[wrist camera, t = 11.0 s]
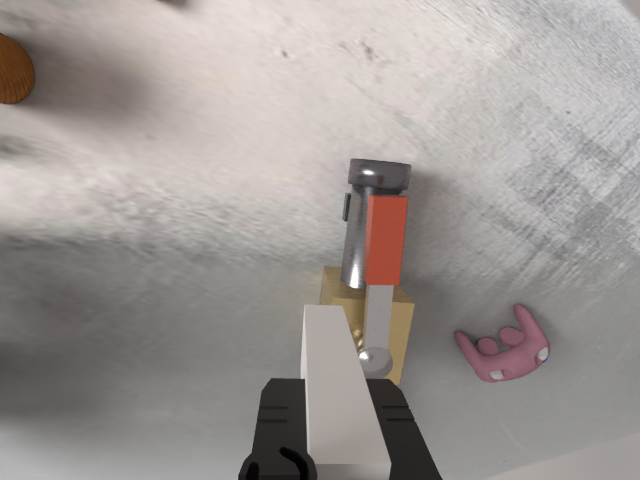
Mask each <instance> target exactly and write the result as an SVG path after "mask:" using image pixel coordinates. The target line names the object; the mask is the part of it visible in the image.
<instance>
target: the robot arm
mask: <svg viewBox="0 0 640 480" xmlns="http://www.w3.org/2000/svg"><path fill="white" fill-rule="evenodd" d="M238 480H443V479H442V478H441V476H440V474H439V472H438V470H437V468H436V466H435V463H434V461H433V459H432V457H431V455H430V452H429V450H428V448H427V446H426V444H425V441H424V439H423V437H422V435H421V432H420V430H419V428H418V426H417V424H416V422H415V421H414V417H413V415H412V413H411V410H410V409H409V406H408V404H407V402H406V399H405V397H404V395H403V393H402V391H401V390H400V389H399V388H398V387H397V386H396V385H395V384H394V383H393V382H392V381H391V380H390V379H365V377H364V373H363V370H362V367H361V364H360V360H359V357H358V354H357V351H356V348H355V344H354V341H353V338H352V335H351V331H350V328H349V325H348V322H347V318H346V315H345V312H344V309H343V306H334V305H305V304H304V320H303V336H302V352H301V379H283V378H271V379H270V381H269V382H268V383H267V385H266V386H265V387H264V389H263V390H262V393H261V399H260V405H259V411H258V418H257V424H256V430H255V436H254V442H253V448H252V453H251V454H250V455H249V456H248V457H247V458H246V460H245V461H244V463H243V465H242V468H241V470H240V473H239V475H238Z"/></svg>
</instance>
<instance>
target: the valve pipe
mask: <svg viewBox="0 0 640 480" xmlns="http://www.w3.org/2000/svg"><path fill="white" fill-rule="evenodd" d="M411 166H412V165H409V164H403V163H395V162H386V161H377V160H366V159H351V161H350V169H349V177H348V183H349V184H353V185H352V193H346V194H345V202H344V210H343V218H342V219H343V220H344V221H348V224H347V231H346V239H345V247H344V254H343V262H342V268H339V267H326V266H324V272H323V280H322V289H321V298H320V305H334V306H343V309H344V312H345V315H346V318H347V322H348V325H349V328H350V331H351V335H352V338H353V341H354V344H355V348H356V350H357V348H358V347H359V346H360V345H362V340H363V327H364V314H365V300H366V287H367V284H366V282H365V280H364V278H363V265H364V251H365V237H366V224H367V210H368V196H369V195H401V193H402V190H407V189H408V183H409V177H410V171H411ZM414 306H415V303H414V302H413V301H412V299H411V298H410V297H409V296H408V295H407V293H406V292H405V291H404V290H403V289H402V287H401V286H400V285H394V288H393V298H392V309H391V319H390V329H389V339H388V350H389V352H390V354H391V356H392V359H393V368H392V370H391V372H390V373H389V374H388V375H387V376H386V377H385V378H383V379H390V380H391V381H392V382H393V383H394V384H395V385H399V384H400V379H401V374H402V368H403V363H404V358H405V353H406V348H407V342H408V337H409V332H410V327H411V322H412V317H413V311H414Z"/></svg>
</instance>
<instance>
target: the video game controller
mask: <svg viewBox="0 0 640 480" xmlns="http://www.w3.org/2000/svg"><path fill="white" fill-rule="evenodd" d="M514 312H515V315H516V318H517V320H518V322H519V325H520V327H521V329H522V330H523V331H522V332H520V331H517V330H515V329H513V328H511V327H506V328H503V329H502V330H501V331H500V341H501V342H502V343H503V344H504V345H505V346H507V347H509V348H510V349H508V350H506V351H503V352H501V353H499V354H497V352H498V347H497V344H496V342H495V341H494V340H493V339H491V338H482V339H480V340H479V341H478V351H477V350H476V349H475V347H474V346H473V345H472V343H471V342H470V340H469V339H468V338H467V337H466V336H465V335H464V334H463V333H461V332H456V340H457V343H458V345H459V347H460V349H461V351H462V352H463V354H464V356H465V358H466V359H467V361H468V362H469V363H470V365H471V366H472V367H473V369H474V371H475V373H476V375H477V376H478V377H479V378H480V379H481V380H483V381H486V382H497V381H507V380H513V379H516V378H520V377H522V376H525V375H527V374H529V373H530V372H532V371H534V370H535V369H537V368H538V367H539V366H540V365H541V364H542V363H543V362H545V361H546V360H547V358H548V356H549V352H550V345H549V342H548V339H547V337H546V336H545V334H544V332H543V331H542V329H541V328H540V326H539V325H538V323H537V322H536V320H535V319H534V317H533V316H532V315H531V313H530V312H529V311H528V310H527V309H526V308H525V307H524V306H522V305H520V304H516V305H515V306H514Z"/></svg>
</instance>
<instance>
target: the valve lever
mask: <svg viewBox="0 0 640 480" xmlns="http://www.w3.org/2000/svg"><path fill="white" fill-rule="evenodd" d="M407 203H408V198H407V197H404V196H401V195H369V196H368V210H367V224H366V237H365V251H364V265H363V278H364V280H365V282H366V284H367V287H366V300H365V314H364V327H363V340H362V345H360V346H359V347H358V348H357V350H356V351H357V354H358V357H359V360H360V364H361V367H362V370H363V373H364V377H365V379H383V378H385V377H386V376H387V375H388V374H389V373H390V372H391V370H392V368H393V359H392V356H391V354H390V352H389V350H388V339H389V329H390V319H391V309H392V298H393V288H394V285H399V281H400V272H401V262H402V252H403V242H404V232H405V222H406V213H407Z"/></svg>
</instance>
